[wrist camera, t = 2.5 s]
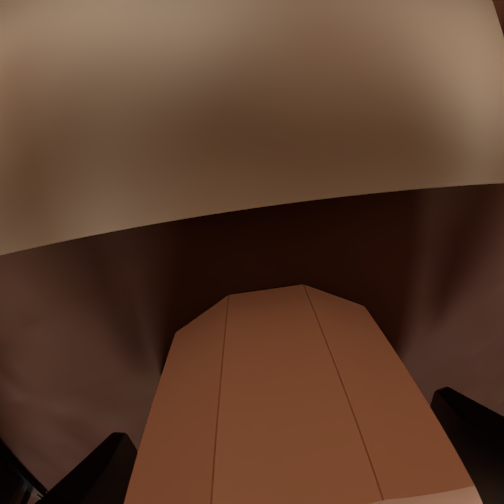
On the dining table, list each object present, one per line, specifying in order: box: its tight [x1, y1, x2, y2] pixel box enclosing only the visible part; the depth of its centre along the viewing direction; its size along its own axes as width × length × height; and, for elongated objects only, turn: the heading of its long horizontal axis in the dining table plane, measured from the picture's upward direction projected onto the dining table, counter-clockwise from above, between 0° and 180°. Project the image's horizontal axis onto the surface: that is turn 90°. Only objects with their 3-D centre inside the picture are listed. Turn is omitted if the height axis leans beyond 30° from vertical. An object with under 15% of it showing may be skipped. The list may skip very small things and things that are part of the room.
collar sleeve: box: [124, 284, 483, 504], centre depth 6 cm, size 7×7×6 cm
